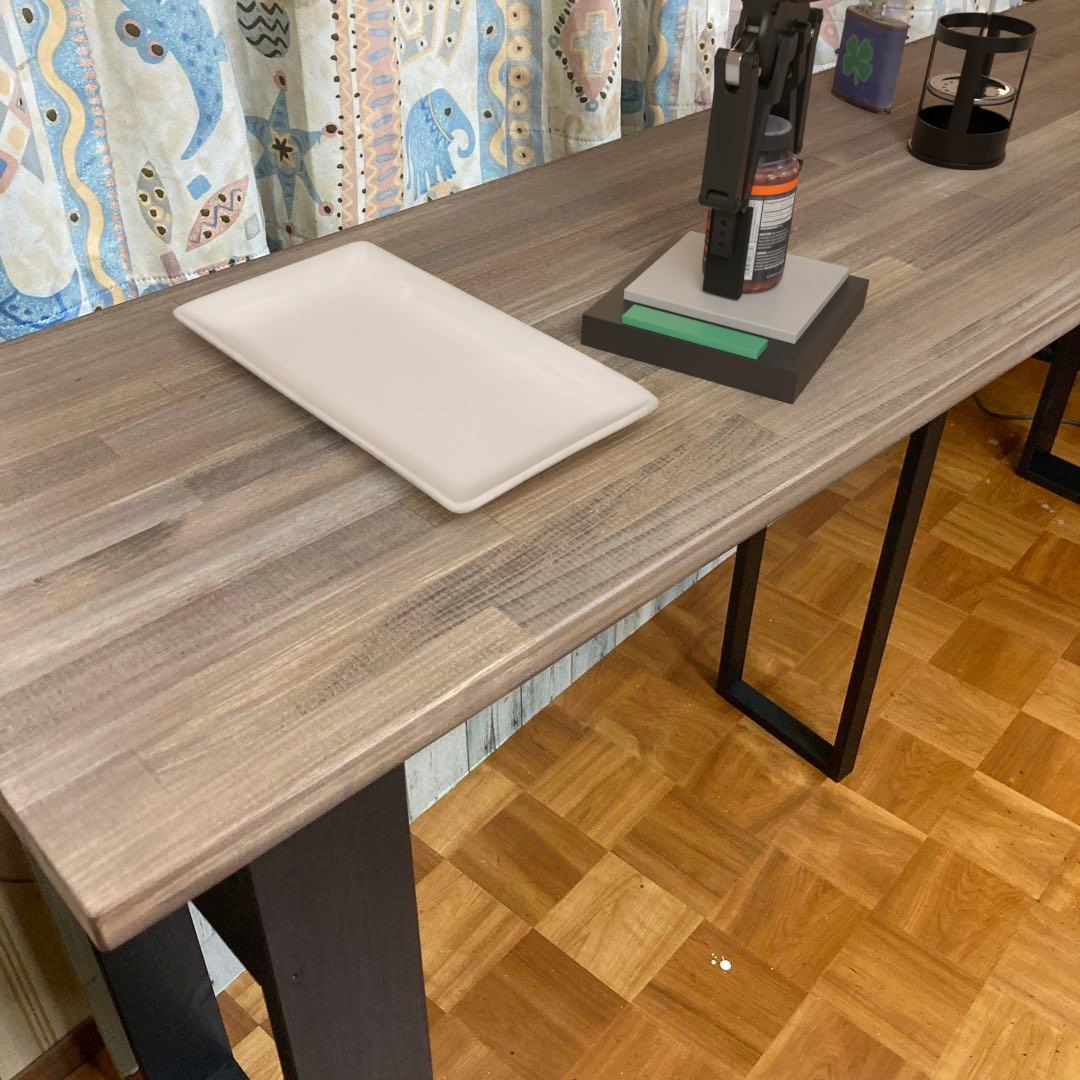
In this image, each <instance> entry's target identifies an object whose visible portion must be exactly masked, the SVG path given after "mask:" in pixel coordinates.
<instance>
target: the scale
mask: <svg viewBox="0 0 1080 1080" xmlns="http://www.w3.org/2000/svg"><path fill="white" fill-rule="evenodd" d="M705 234H706V233H701V232H698V231H693V230H689V231H688V232H687V233H686V234H685V235H681V234H677V233H674V234H673V235H672V236H671V237H670V238H668V239H667V240H666V241H665V242H664V243H662V245H660V246H659V247H658V248H657V249H656V250H654V251H653V252H652V253H651V254H650V255H649V256H647V257H646V258H645V259H644V260H643V261H642V262H641V263H639V264H638V265H637V266H636V267H635V268H633V270H632V271H630V272H629V273H628V274H627V275H626V276H625V277H623V278H621V280H620V281H619V282H618V283H616V284H615V285H614V286H613V287H612V288H611V289H610V290H609V291H607V292H606V293H605V294H604V295H603V296H602V297H601V298H599V299H598V300H597V301H596V302H595V303H594V304H593V305H591V306H590V307H589V308H588V309H586V310H585V311H584V312H582V315H581V317H582V318H581V336H580V337H581V339H580V340H581V342H580V343H581V345H583V346H587V347H591V348H594V349H598V350H601V351H605V352H608V353H612V354H615V355H619V356H622V357H626V358H630V359H632V360H637V361H640V362H644V363H647V364H650V365H654V366H657V367H660V368H665V369H668V370H671V371H675V372H679V373H681V374H686V375H688V376H691V377H696V378H699V379H703V380H706V381H710V382H714V383H717V384H720V385H725V386H727V387H731V388H735V389H738V390H742V391H745V392H748V393H752V394H756V395H758V396H763V397H766V398H770V399H773V400H776V401H780V402H783V403H787V404H791V405H793V404H794V403H795V402H796V400H797V399H798V398H799V396H800V395H801V393H802V392H804V389H805V388H806V387H807V385H808V384H809V383H810V381H812V379H813V377H814V376H815V375H816V374H817V372H818V370H819V369H820V368H821V367H822V365H823V364H824V362H825V361H826V360H827V358H829V356H830V354H832V352H833V350H834V349H835V347H836V346H837V345H838V343H839V342H840V341H841V340H842V338H843V337H844V335H845V334H846V333H847V331H848V330H849V329H850V327H851V326H852V324H853V323H854V322H855V320H856V319H857V317H859V315H860V314H861V313H862V311H863V309H864V308H865V303H866V298H867V294H868V290H869V285H870V279H869V278H865V277H860V276H856V275H852V274H850V270H851V269H850V267H848V266H844V265H840V264H835V263H830V262H827V261H822V260H817V259H814V258H809V257H805V256H801V255H797V254H792V253H788V252H787V254H786V260H785V267H784V271H783V276H782V279H781V281H780V282H779V283H778V284H777V285H776V286H775V287H773V288H771V289H768V290H766V291H761V292H757V293H743V292H742V296H741V297H740V298H739V299H738V300H736V299H732V298H728V297H725V296H721V295H717V294H713V293H709V292H705V291H702V290H703V281H704V275H703V271H702V265H703V261H702V260H703V251H704V242H705V241H704V240H705Z"/></svg>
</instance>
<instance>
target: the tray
mask: <svg viewBox="0 0 1080 1080" xmlns="http://www.w3.org/2000/svg"><path fill="white" fill-rule="evenodd" d="M172 315H173V317H174V318H175V319H176V320H177V321H178V322H179V323H181V324H182V325H184V326H185V327H186V328H188V329H189V330H190V331H192V332H194V333H195V334H196V335H197V336H199V337H200V338H201V339H203V340H205V341H206V342H208V343H209V344H210V345H212V346H214V347H215V348H216V349H218V350H219V351H220V352H222V353H223V354H225V355H226V356H227V357H229V358H231V359H232V360H233V361H235V362H237V363H238V364H239V365H241V366H242V367H243V368H245V369H246V370H248V371H249V372H250V373H252V374H254V375H255V376H256V377H257V378H259V379H260V380H262V381H263V382H265V383H266V384H267V385H269V386H270V387H272V388H273V389H274V390H275V391H277V392H279V393H280V394H282V395H283V396H285V397H286V398H288V399H289V400H290V401H292V403H295V404H296V405H297V406H299V407H301V408H302V409H304V410H305V411H306V412H307V413H310V414H311V415H312V416H314V417H316V418H317V419H318V420H320V421H321V422H323V423H325V424H326V425H327V426H328V427H330V428H332V429H333V430H335V431H336V432H337V433H338V434H341V436H343V437H345V438H347V440H349V441H351V442H352V443H354V444H355V445H357V446H358V447H360V449H362V450H364V451H366V452H367V453H368V454H369V455H371V456H373V457H374V458H376V459H377V460H378V461H380V462H381V463H383V464H384V465H386V467H388V468H390V469H391V470H392V471H394V472H395V473H397V474H398V475H399V476H401V477H402V478H403V479H405V480H406V481H408V482H409V483H411V484H412V485H413V486H415V487H416V488H418V489H419V490H420V491H422V492H423V493H424V494H425V495H427V496H429V497H430V498H431V499H433V500H434V501H436V502H437V503H438V504H439V505H441V506H442V507H444V508H445V509H446V510H448V511H450V512H452V513H455V514H467V513H468V514H469V513H471V512H473V511H475V510H477V509H479V508H481V507H483V506H484V505H486V504H488V503H490V502H492V501H493V500H495V499H496V498H498V497H500V496H502V495H503V494H505V493H507V492H508V491H510V490H512V489H514V488H515V487H517V486H519V485H520V484H522V483H524V482H525V481H527V480H529V479H531V478H532V477H535V476H536V475H538V474H540V473H542V472H543V471H545V470H548V469H549V468H551V467H552V466H555V465H556V464H558V463H560V462H561V461H563V460H564V459H567V458H568V457H570V456H572V455H574V454H575V453H578V452H580V451H581V450H583V449H585V448H588V447H590V446H591V445H593V444H595V443H597V442H600V441H601V440H603V439H606V438H607V437H609V436H611V435H613V434H615V433H617V432H619V431H620V430H622V429H624V428H626V427H629V426H630V425H631V424H635V423H636V422H637V421H640V420H641V419H644V418H645V417H647V416H649V415H650V414H652V413H653V412H655V411H656V409H657V408H658V407H659V406H660V403H661V402H660V400H659V398H658V397H657V396H656V395H655V394H653V393H652V392H651V391H650V390H648V389H647V388H645V387H643V386H642V385H641V384H639V383H638V382H636V381H635V380H633V379H631V378H629V377H628V376H626V375H624V374H622V373H621V372H619V371H617V370H615V369H612V368H611V367H609V366H607V365H605V364H604V363H601V362H599V360H596V359H594V358H592V357H590V356H589V355H587V354H585V353H583V352H581V351H580V350H578V349H575V348H573V347H571V346H570V345H568V344H565V343H564V342H562V341H560V340H558V339H556V338H554V337H553V336H551V335H549V334H547V333H545V332H543V331H541V330H539V329H538V328H535V327H534V326H531V325H530V324H527V323H526V322H524V321H521V320H519V319H518V318H516V317H514V316H512V315H510V314H508V313H507V312H505V311H502V310H500V309H498V308H497V307H494V306H493V305H491V304H489V303H487V302H486V301H483V300H482V299H479V298H477V297H475V296H474V295H471V294H470V293H468V292H466V291H464V290H462V289H460V288H458V287H456V286H454V285H452V284H450V283H449V282H447V281H445V280H443V279H441V278H439V277H438V276H435V275H433V274H431V273H429V272H428V271H425V270H424V269H422V268H420V267H418V266H416V265H415V264H412V263H410V262H408V261H406V260H405V259H403V258H401V257H399V256H397V255H395V254H394V253H392V252H390V251H388V250H386V249H384V248H383V247H381V246H378V245H377V244H374V243H372V242H370V241H367V240H358V241H353V242H350V243H349V242H348V243H347V244H343V245H341V246H338V247H334V248H332V249H329V250H326V251H324V252H322V253H318V254H315V255H313V256H311V257H307V258H305V259H302V260H299V261H297V262H293V263H290V264H288V265H285V266H283V267H280V268H277V269H274V270H271V271H268V272H266V273H263V274H260V275H257V276H254V277H251V278H249V279H247V280H243V281H241V282H238V283H236V284H233V285H231V286H228V287H224V288H221V289H219V290H216V291H214V292H211V293H208V294H205V295H203V296H200V297H197V298H195V299H193V300H190V301H187V302H185V303H183V304H181V305H178V306H177V307H175V308H174V309H173V311H172Z"/></svg>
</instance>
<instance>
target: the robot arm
mask: <svg viewBox="0 0 1080 1080" xmlns="http://www.w3.org/2000/svg"><path fill="white" fill-rule="evenodd" d="M740 1H741V3H742V4H741V5H742V7H741V10H740V13H739V17H738V18H739V19H738V22H737V23H736V24H735V26H734V29H733V31H732V36H731V41H730V48H728V47H722V46H721V47H720V46H719V47H718V48H717V49H716V50H715V54H714V57H713V93H712V101H711V108H710V115H709V123H708V131H707V137H706V147H705V154H704V161H703V168H702V169H703V170H702V177H701V184H700V185H701V186H700V191H699V194H698V198H697V199H698V203H699V205H700V206H703V207H706V208H708V207H711V208H712V211H711V219H710V228H709V237H708V246H707V255H706V263H705V272H704V281H703V290H702V291H705V292H709V293H713V294H717V295H721V296H725V297H728V298H732V299H736V300H738V299H739V298H740V297H741V296H742V290H743V283H744V275H745V268H746V261H747V254H748V246H749V239H750V232H751V225H752V217H753V210H754V207H750V206H749V203H750V196H751V192H752V188H753V183H754V179H755V175H756V170H757V166H758V162H759V157H760V153H761V148H762V144H763V140H764V135H765V131H766V127H767V122H768V118H769V115H774V116H778V117H781V118H783V119H785V120H788V121H789V122H790V123H791V126H792V130H791V137H790V140H791V143H790V145H789V146H788V147H787V149H788V150H789V151H790V152H791V153H793V154H794V155H795V156H799V155H800V153H801V152H802V150H803V148H804V137H805V130H806V129H805V128H806V121H807V116H808V115H807V114H808V108H809V101H810V95H811V87H812V79H813V72H814V67H815V66H814V65H815V58H816V51H817V44H818V39H819V36H820V32H821V28H822V22H823V21H824V17H825V15H824V8H823V7H816V6H811V3H815V2H821V1H822V0H740ZM797 160H798V162H799V167H800V169H799V174H800V173H801V171H802V168H803V165H804V159H801V158H797Z"/></svg>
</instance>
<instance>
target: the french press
mask: <svg viewBox="0 0 1080 1080" xmlns="http://www.w3.org/2000/svg"><path fill="white" fill-rule="evenodd" d="M1021 1H1022V2H1026V3H1035V2H1038V0H1021ZM995 3H996V0H990V3H989V5H988V6H989V7H988V10H987V11H985V12H979V11H978V12H977V11H976V12H975V11H964V12H963V11H961V12H953V13H947V14H944V15H941V16H940V17H938V18H937V20H936V25H935V30H934V34H933V39H932V42H931V43H932V44H931V48H930V53H929V57H928V62H927V67H926V71H925V75H924V79H923V84H922V89H921V94H920V97H919V101H918V103H919V104H918V108H917V111H916V116H915V121H914V126H913V130H912V136H911V138H910V139H909V140H908V143H907V146H906V148H907V151H908V152H909V154H910V155H912V156H913V157H914V158H916V159H918V160H920V161H922V162H924V163H926V164H927V163H928V164H930V165H934V166H937V167H941V168H947V169H955V170H967V171H968V170H971V171H972V170H973V171H974V170H986V169H990V168H991V169H992V168H995V167H997V166H1000V165H1001V164H1003V162H1004V161H1005V160H1006V157H1007V151H1006V148H1007V145H1008V140H1009V137H1010V133H1011V130H1012V125H1013V121H1014V119H1015V115H1016V111H1017V107H1018V105H1019V104H1018V103H1019V99H1020V96H1021V93H1022V88H1023V85H1024V81H1025V78H1026V74H1027V70H1028V67H1029V64H1030V59H1031V55H1032V52H1033V48H1034V45H1035V41H1036V38H1037V33H1038V27H1037V26H1036V25H1035V24H1034V23H1032V22H1030V21H1028V20H1025V19H1022V18H1018V17H1015V16H1011V15H1006V14H1005V13H1004V12H996V11H993V10H994V7H995ZM954 28H955V29H956V28H979V32H978V35H975V34H969V33H965V32H960V31H958V30H954ZM1001 31H1003V32H1007V33H1011V34H1015V35H1017V36H1014V37H1013V36H1011V37H1001V36H1000V35H1001ZM938 42H939V43H941V44H944V45H946V46H949V47H952V48H955V49H959V50H964V51H965V54H964V59H963V63H962V67H961V71H960V73H958V72H955V73H952V72H951V73H941V74H936V75H934V76H932V77H930V75H931V70H932V65H933V61H934V56H935V52H936V47H937V43H938ZM1025 51H1027V54H1026V58H1025V62H1024V65H1023V68H1022V73H1021V77H1020V80H1019V84H1018V88H1017V87H1016V86H1014V84H1012V83H1010V82H1008V81H1006V80H1003V79H999V78H997V77H993V76H991V72H992V68H993V63H994V59H995V56H996V54H1015V53H1022V52H1025ZM926 92H928V93H929V94H930V95H931V96H933V97H935V98H938V99H939V100H942V101H946V102H949V103H942V104H941V103H940V104H933V105H928V106H925V107H924V102H925V98H926ZM1013 101H1014V102H1013ZM1012 102H1013V106H1012V109H1011V113H1010V117H1007V116H1005V115H1004V114H1002V113H999V112H997V111H994V110H991V109H989V108H988V109H987V108H985V107H995V106H1002V105H1006V104H1009V103H1012Z"/></svg>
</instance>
